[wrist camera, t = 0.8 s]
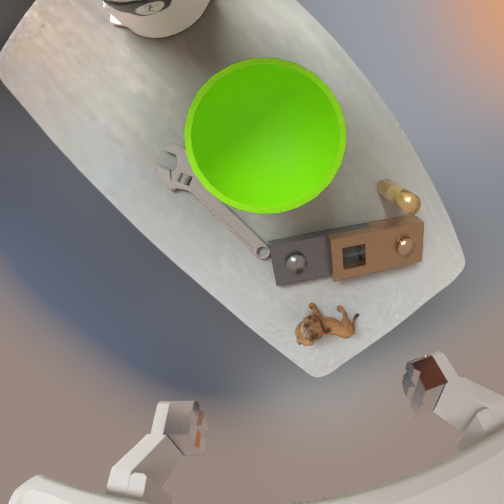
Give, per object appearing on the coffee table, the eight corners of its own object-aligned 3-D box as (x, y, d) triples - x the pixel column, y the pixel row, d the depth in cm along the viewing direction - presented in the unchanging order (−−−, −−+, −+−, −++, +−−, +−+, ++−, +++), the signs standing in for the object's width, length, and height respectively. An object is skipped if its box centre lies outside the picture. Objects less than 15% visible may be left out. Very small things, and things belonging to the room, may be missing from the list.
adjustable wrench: (273, 248, 53) (274, 253, 51) (244, 268, 54) (244, 273, 53) (177, 138, 44) (175, 139, 42) (149, 164, 45) (146, 166, 44)
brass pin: (377, 180, 47) (404, 196, 38) (391, 178, 47) (420, 194, 38) (378, 196, 48) (404, 216, 39) (392, 194, 48) (420, 213, 39)
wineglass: (253, 197, 48) (257, 243, 32) (185, 126, 43) (151, 133, 26) (329, 136, 44) (375, 150, 28) (263, 60, 38) (275, 28, 22)
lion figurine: (289, 322, 60) (294, 353, 51) (292, 301, 57) (299, 331, 49) (355, 321, 60) (368, 350, 52) (361, 301, 58) (376, 329, 50)
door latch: (268, 241, 51) (270, 254, 47) (413, 214, 50) (426, 224, 45) (275, 280, 55) (278, 295, 50) (412, 252, 53) (423, 263, 49)
